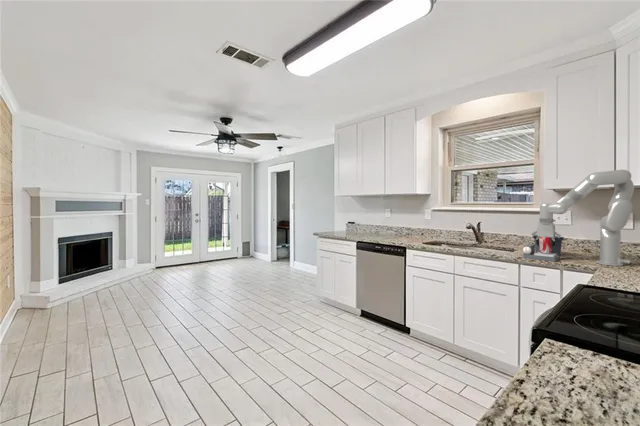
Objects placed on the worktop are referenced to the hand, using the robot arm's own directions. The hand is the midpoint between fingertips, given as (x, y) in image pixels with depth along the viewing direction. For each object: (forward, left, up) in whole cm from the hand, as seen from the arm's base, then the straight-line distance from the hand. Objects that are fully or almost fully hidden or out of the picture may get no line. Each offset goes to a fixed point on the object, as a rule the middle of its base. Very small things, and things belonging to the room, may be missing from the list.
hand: (545, 245), depth 216 cm
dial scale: (+3, 0, -9) cm, 10 cm away
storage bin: (+3, -24, -10) cm, 26 cm away
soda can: (0, 0, -5) cm, 5 cm away
